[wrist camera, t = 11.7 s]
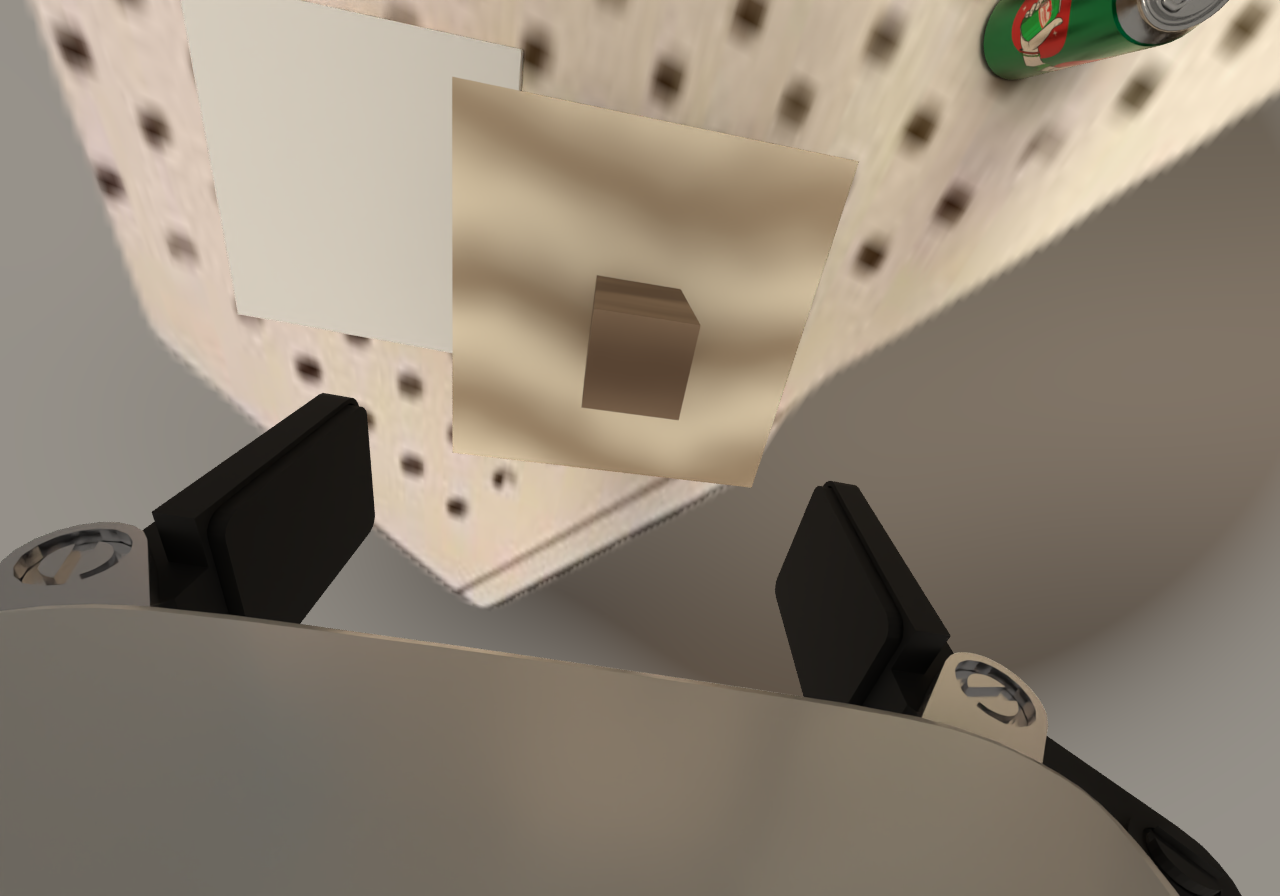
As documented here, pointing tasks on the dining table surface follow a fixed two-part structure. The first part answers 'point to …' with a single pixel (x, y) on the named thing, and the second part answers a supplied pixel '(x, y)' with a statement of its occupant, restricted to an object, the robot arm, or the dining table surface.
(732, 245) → the birch lid
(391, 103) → the grey mat
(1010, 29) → the soda can
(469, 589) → the dining table surface
